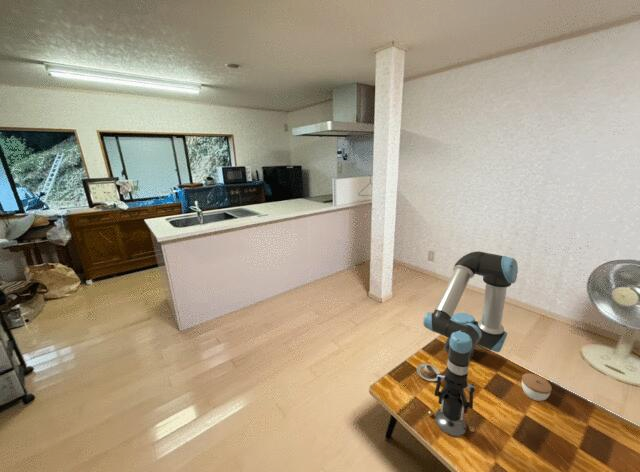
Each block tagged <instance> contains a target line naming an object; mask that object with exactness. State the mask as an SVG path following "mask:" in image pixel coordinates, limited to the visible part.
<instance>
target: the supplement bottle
mask: <svg viewBox="0 0 640 472" xmlns="http://www.w3.org/2000/svg"><path fill="white" fill-rule="evenodd" d="M462 402H463V401H462V398H461V395H460V393H459V391H458V390H456V389H452V388H450V390H448V392H447V393H446V394H445V396H444V404H443V414H444V415H445V417H446V418H448V419H449V420H451V421H458V420H459V419H460V416H461V409H462Z"/></svg>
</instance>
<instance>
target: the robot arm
mask: <svg viewBox="0 0 640 472" xmlns="http://www.w3.org/2000/svg"><path fill="white" fill-rule="evenodd" d="M518 269H519V267H518V262H517V260H516V258H513V257H508V256H507V255H501V254H495V253H489V252H484V251H473V252H472V251H471V252H469V253H467V254H465V255H463V256H461V257H460V258H459V259H458V260H457V261H456V262H455V264H454V266H453V268H452V270H453V273H452V275H451V276H450V279H449V280H448V283H447V285H446V286H445V288H444V290H443V293H442V294H441V297H440V298H439V301H438V303H437V304H436V307H435V308H434V311H433V312H430V311H429V312H426V313H425V315H424V318H423V327H424V328H425V329H428V330H430V331H431V332H433V333H436V334H439V335H442V336H443V337H445V338H446V341H444V350H445V351H446V353H447V354H448V356H447V362H446V371H445V374H444V375H442V373H441V374H438V376H437V375H436V376H437V380H438V381H436V386H435V389H434V396H435V397H438V404H439V405H440V409H441V412H443V404H444V396H445V394H446V393H447V392H448V390H450V388H452V389H456V390H458V391H459V393H460V395H461V399H462V409H461V416H460V419H461V420H462V419H464V418H463V417H464V414H467V411H468V408H469V409H471V410H472V409H474V392H475V388H476V387H475V385H474V384H470V383H468V381H467V380H468V376H469V368H470V361H471V359H472V358H473V357H474V353H475V351H474V350H475V348H476V346H477V345H479V346H481V347H482V348H485V349H487V350H489V351H493V352H496V353H500V352H501V351H502V348H503V346H504V345H505V341H506V339H507V337H508V331H505V327H504V325H502V323H503V322H502V320H503V315H504V309H505V301H506V296H507V290H508V289H507V288H509V287H511V285H512V284H515V283H516V281H517V278H518ZM475 275H477V276H481V277H482V281H483V283H484V284H485V287H484V288H485V289H484V290H485V291H484V298H483V306H482V314H481V315H482V316H481V319H479V321H476V319H475V317H474V316H473V315H472V314H470V313H467V312H456V313H455V311H456V309H457V307H458V304H459V302H460V300H461V298H462V297H463V294H464V293H465V290H466V288H467V285H468V283H469V282H470V280H471V279H473V278H474V277H475ZM443 381H445V382H446V383H445V384H444V386H443V388H442V389H441V390H440V388H441V385H442V383H443ZM465 388H467V390H468V394H469V395H468V396H469V397H468V398H469V399H467V397H466V393H465ZM468 400H469V401H468Z"/></svg>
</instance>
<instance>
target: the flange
mask: <svg viewBox="0 0 640 472" xmlns="http://www.w3.org/2000/svg"><path fill="white" fill-rule="evenodd" d="M427 415H428V417H430V418H433V417H434V419H435V420H434V421H435V424H436V425H437V427H438V428H439V430H441V431H442V432H443V433H444V434H446V435H447V436H450V437H455V438H456V437H458V438H461V437H463V436H464V435H465V434H466V432H467V422H466V420H465V418H463V419H462V420H461V419H459V420H458V421H451V420H449V419H448V418H446V417H445V415H444V414H443V412H441V408H439V409H437V411H436V412H435V414H434V411H433V410H431V409H429V410H427ZM468 432H469V433H470V434H475V427H474V426H472V425H469V427H468Z"/></svg>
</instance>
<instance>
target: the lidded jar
mask: <svg viewBox="0 0 640 472" xmlns="http://www.w3.org/2000/svg"><path fill="white" fill-rule="evenodd" d="M521 388H522V390H523V392H524V394H525V395H526V396H527V397H528V398H530V399H531V400H533V401H537V402H541V401H545V400H547V399H548V398H549V397H550V395H551V392H552V390H553V388H552V385H551V383H550V382H549V381H547V379H545V378H544V377H542V376H539V375H537V374H534V373H527V372H526V373H524V374H523V375H522V376H521Z"/></svg>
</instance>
